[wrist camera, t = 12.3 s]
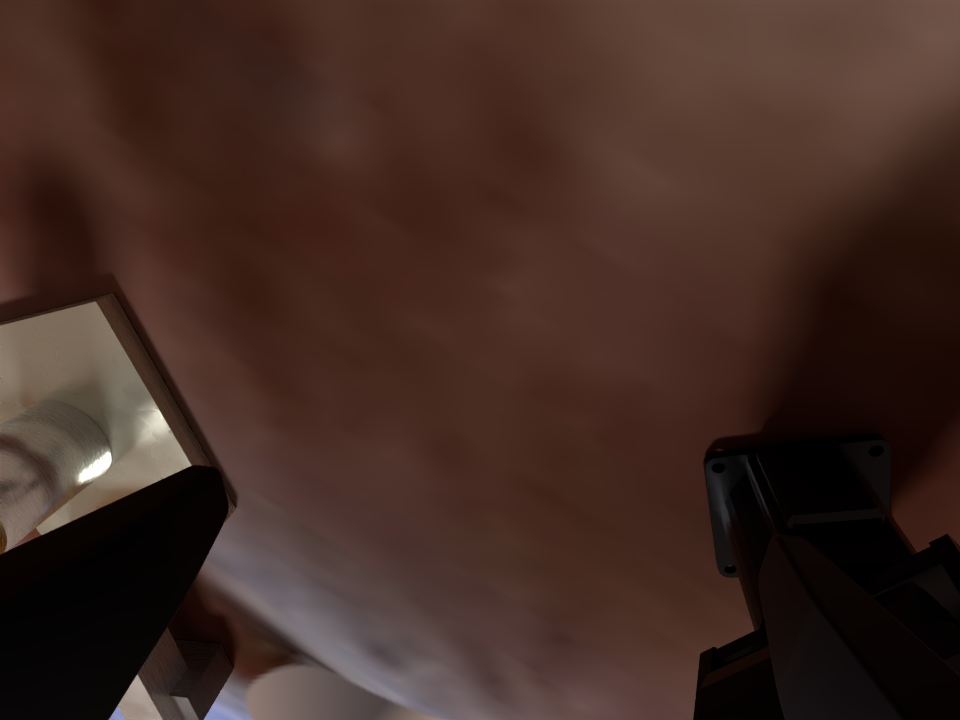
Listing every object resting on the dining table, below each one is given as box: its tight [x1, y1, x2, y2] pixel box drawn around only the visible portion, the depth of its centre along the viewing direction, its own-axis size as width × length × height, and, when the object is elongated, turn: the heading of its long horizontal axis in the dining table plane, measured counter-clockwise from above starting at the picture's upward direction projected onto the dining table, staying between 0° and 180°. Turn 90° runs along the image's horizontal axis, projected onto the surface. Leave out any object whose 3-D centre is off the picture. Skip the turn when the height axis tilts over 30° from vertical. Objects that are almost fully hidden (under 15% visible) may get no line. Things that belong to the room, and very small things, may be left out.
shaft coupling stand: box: [0, 293, 236, 720], centre depth 30 cm, size 24×24×5 cm
